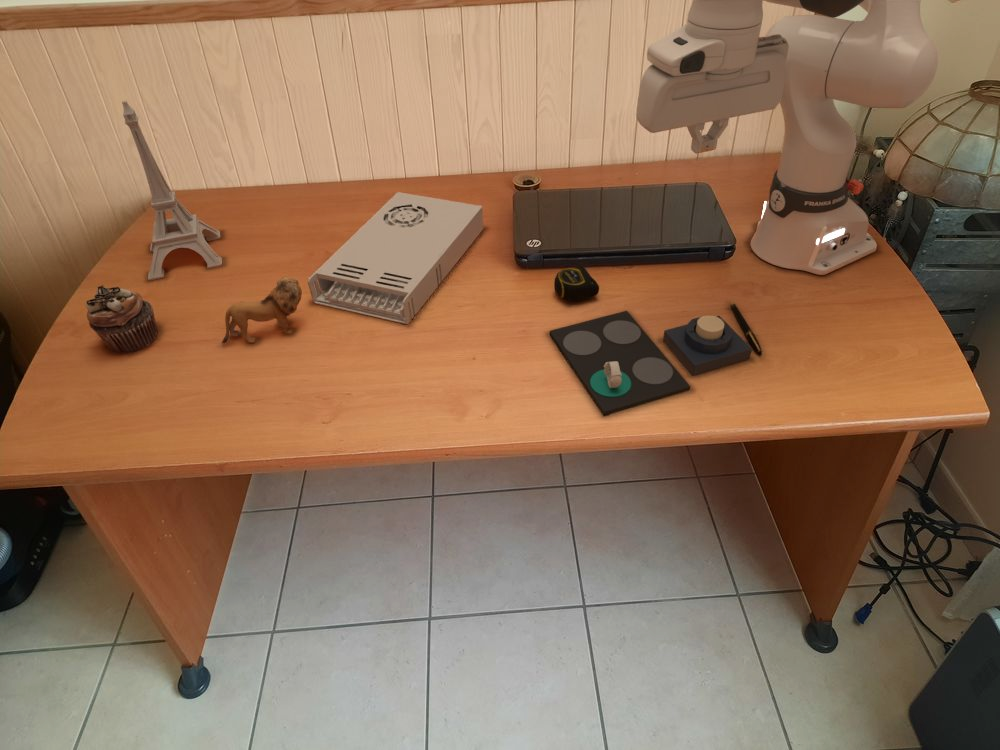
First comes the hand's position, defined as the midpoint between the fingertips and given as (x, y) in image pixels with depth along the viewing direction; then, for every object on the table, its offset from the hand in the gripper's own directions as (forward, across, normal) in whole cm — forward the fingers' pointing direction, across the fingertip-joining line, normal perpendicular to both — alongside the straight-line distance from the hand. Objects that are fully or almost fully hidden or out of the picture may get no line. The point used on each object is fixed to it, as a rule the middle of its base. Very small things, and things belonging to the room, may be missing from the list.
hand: (703, 150), depth 96 cm
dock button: (+26, 0, +9) cm, 27 cm away
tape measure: (+29, +12, -13) cm, 34 cm away
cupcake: (+29, +86, -30) cm, 96 cm away
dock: (+29, 0, +9) cm, 30 cm away
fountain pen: (+29, -9, +7) cm, 31 cm away
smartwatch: (+28, +17, +11) cm, 35 cm away
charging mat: (+29, +14, +6) cm, 33 cm away
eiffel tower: (+29, +77, -54) cm, 99 cm away
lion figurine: (+29, +64, -23) cm, 74 cm away
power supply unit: (+29, +38, -34) cm, 59 cm away
